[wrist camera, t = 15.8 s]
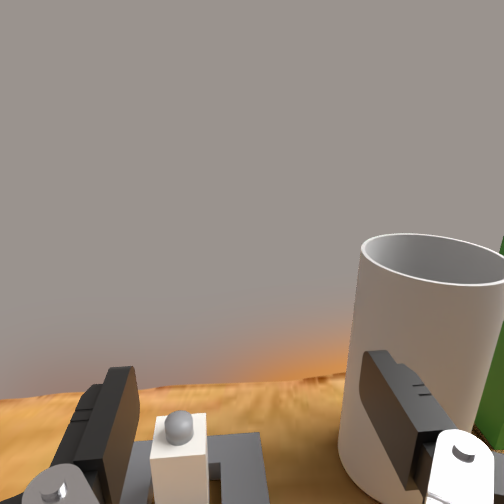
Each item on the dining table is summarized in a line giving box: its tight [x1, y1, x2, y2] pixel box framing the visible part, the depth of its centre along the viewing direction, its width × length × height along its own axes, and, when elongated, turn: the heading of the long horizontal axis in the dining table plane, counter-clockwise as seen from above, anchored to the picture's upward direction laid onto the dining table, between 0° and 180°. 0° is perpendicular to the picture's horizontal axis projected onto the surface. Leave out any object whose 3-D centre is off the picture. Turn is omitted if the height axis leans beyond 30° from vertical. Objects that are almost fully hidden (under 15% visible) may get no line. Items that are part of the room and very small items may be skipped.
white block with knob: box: [150, 411, 209, 504], centre depth 34 cm, size 4×4×12 cm
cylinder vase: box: [338, 234, 504, 504], centre depth 38 cm, size 12×12×25 cm
